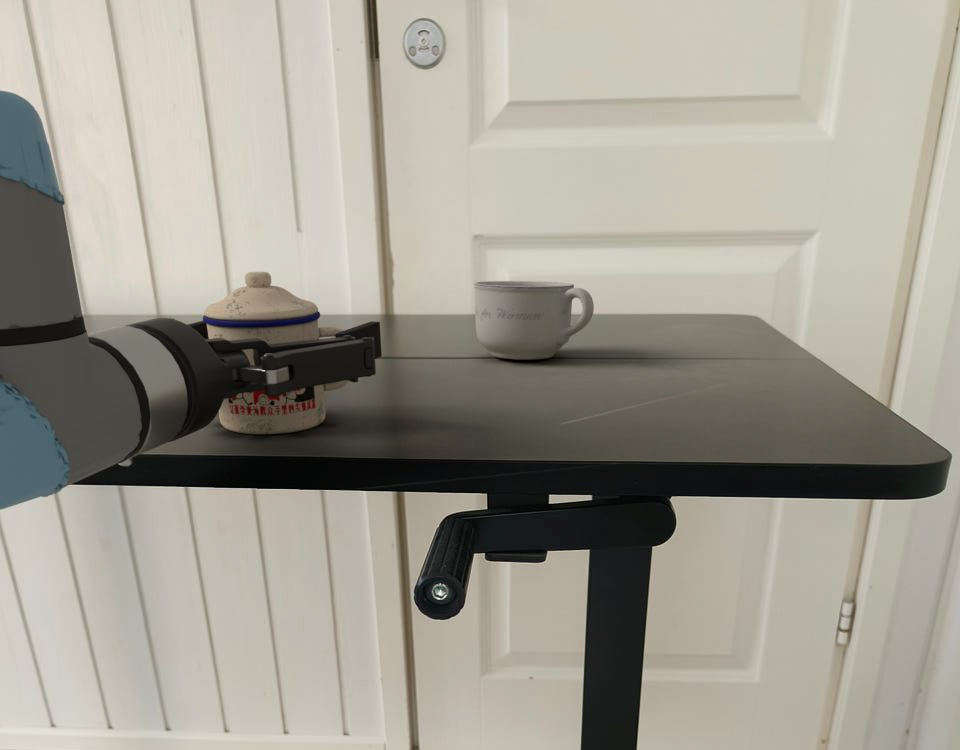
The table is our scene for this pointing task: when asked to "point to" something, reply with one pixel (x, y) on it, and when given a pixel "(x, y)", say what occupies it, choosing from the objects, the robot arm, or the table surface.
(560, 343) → the teacup
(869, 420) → the table surface
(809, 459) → the table surface
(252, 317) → the teacup with lid
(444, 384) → the table surface
